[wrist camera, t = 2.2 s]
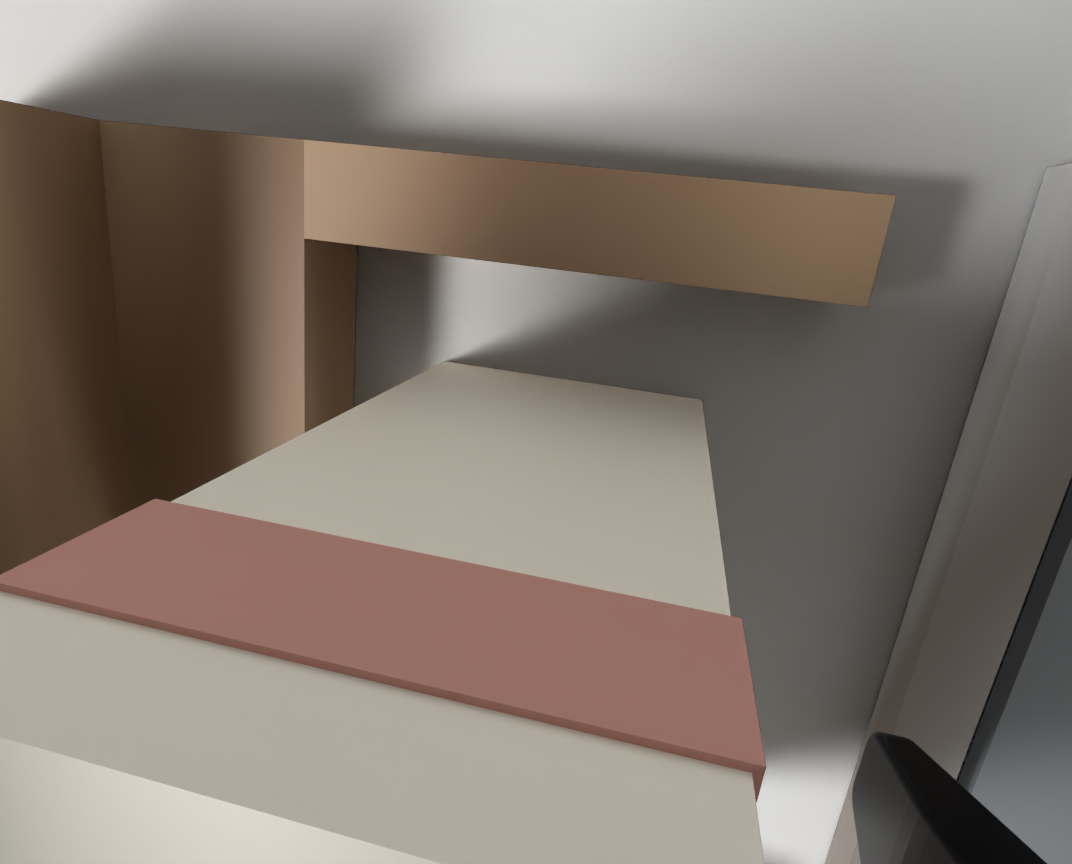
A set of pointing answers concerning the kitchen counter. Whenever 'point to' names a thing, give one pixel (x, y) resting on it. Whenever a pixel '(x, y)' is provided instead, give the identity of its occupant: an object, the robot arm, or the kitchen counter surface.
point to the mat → (1033, 714)
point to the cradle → (475, 233)
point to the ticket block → (397, 649)
